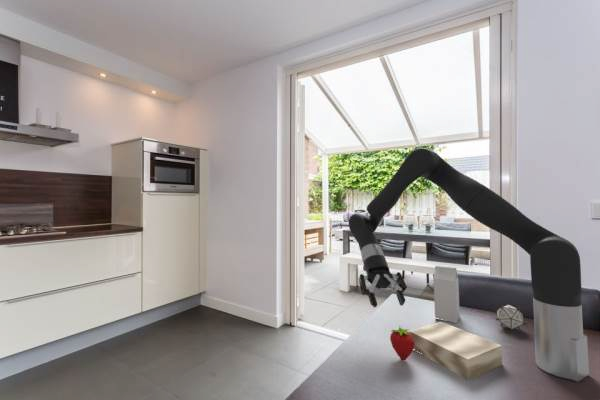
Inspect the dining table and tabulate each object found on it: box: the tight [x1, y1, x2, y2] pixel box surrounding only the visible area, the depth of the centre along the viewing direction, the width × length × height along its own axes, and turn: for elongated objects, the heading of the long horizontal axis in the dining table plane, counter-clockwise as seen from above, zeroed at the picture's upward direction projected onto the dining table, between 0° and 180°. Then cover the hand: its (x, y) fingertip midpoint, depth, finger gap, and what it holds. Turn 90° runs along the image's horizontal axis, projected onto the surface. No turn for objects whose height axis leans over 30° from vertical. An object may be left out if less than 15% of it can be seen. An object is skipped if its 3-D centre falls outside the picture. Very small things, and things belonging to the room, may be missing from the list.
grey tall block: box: [433, 265, 461, 324], centre depth 106 cm, size 7×7×19 cm
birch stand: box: [408, 321, 503, 381], centre depth 80 cm, size 18×14×5 cm
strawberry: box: [389, 326, 415, 362], centre depth 78 cm, size 6×8×10 cm
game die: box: [494, 301, 528, 333], centre depth 96 cm, size 9×8×10 cm
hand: (389, 305), depth 87 cm, fingers open, 8 cm apart
